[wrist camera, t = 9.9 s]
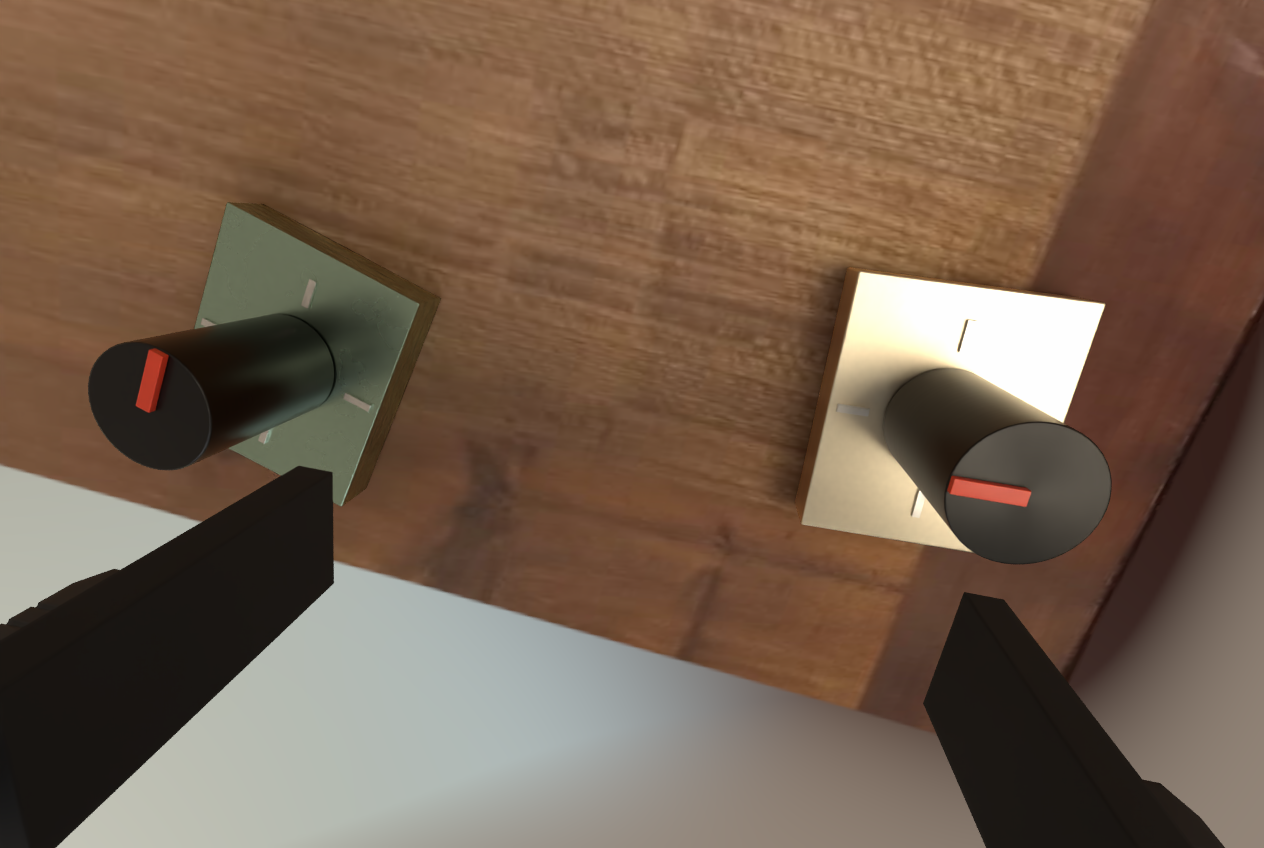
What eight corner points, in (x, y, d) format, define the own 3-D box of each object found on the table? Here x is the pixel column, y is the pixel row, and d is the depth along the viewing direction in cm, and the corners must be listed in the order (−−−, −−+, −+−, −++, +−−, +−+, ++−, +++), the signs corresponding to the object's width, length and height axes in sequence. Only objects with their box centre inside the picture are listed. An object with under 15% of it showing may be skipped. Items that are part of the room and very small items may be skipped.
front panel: (993, 536, 32) (1017, 562, 29) (794, 503, 33) (800, 526, 30) (1074, 296, 28) (1110, 303, 25) (847, 266, 29) (859, 270, 26)
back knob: (317, 430, 32) (187, 496, 24) (228, 384, 32) (69, 435, 24) (347, 344, 30) (219, 385, 22) (254, 295, 30) (92, 318, 22)
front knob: (1018, 377, 27) (1143, 439, 19) (983, 484, 28) (1085, 582, 21) (899, 359, 27) (974, 412, 19) (870, 465, 29) (928, 554, 21)
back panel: (366, 488, 36) (339, 508, 33) (206, 405, 35) (167, 419, 33) (441, 298, 32) (418, 304, 29) (263, 203, 31) (223, 201, 29)
